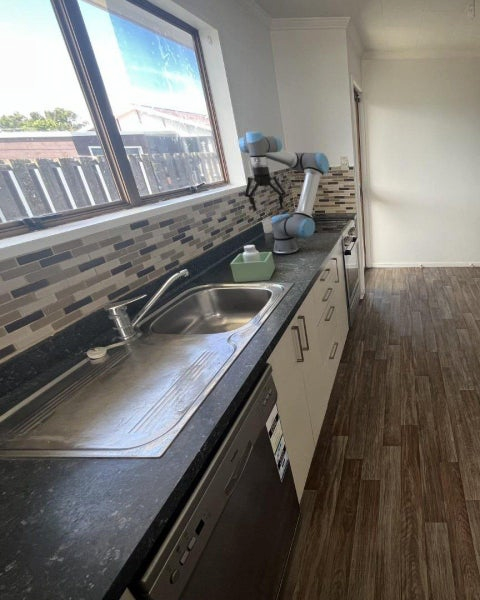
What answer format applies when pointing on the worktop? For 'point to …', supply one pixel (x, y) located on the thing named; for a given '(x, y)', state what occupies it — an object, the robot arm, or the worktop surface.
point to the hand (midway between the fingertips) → (268, 209)
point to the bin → (253, 268)
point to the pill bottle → (251, 254)
